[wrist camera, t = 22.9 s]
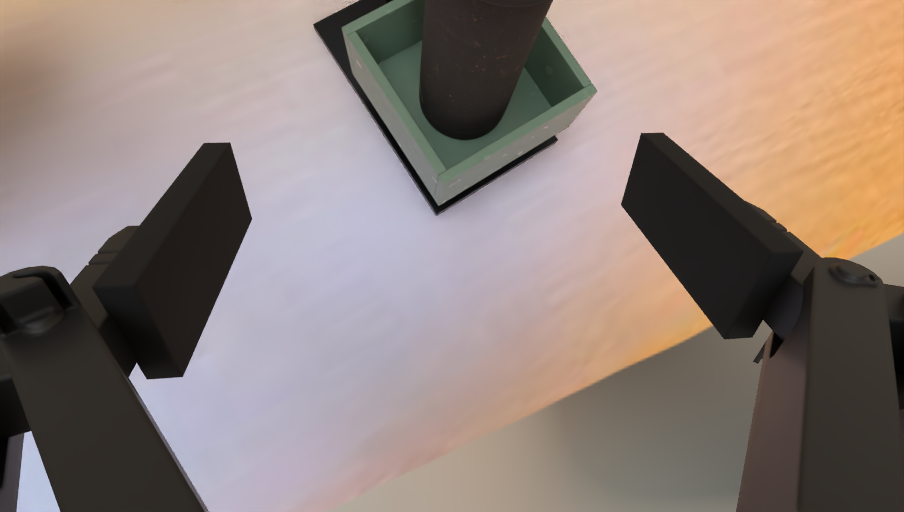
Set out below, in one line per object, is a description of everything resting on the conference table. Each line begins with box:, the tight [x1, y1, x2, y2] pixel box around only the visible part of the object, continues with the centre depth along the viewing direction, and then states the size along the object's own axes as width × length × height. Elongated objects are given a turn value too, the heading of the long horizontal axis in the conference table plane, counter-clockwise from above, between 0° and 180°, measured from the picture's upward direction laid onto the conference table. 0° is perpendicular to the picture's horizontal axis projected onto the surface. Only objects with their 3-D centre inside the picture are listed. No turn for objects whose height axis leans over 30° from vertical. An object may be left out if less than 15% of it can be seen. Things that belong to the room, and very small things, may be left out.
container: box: [419, 0, 553, 140], centre depth 32 cm, size 9×9×20 cm
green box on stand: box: [313, 0, 597, 216], centre depth 35 cm, size 23×15×24 cm, turn 33°
